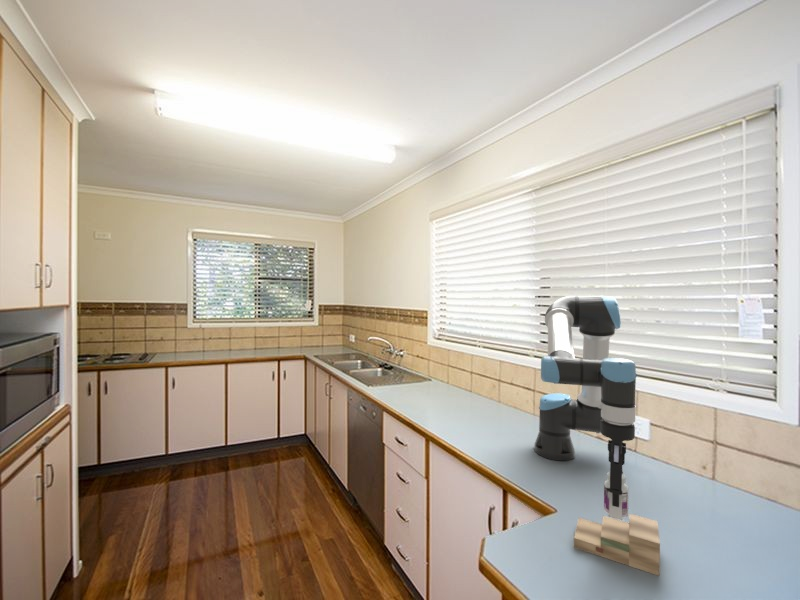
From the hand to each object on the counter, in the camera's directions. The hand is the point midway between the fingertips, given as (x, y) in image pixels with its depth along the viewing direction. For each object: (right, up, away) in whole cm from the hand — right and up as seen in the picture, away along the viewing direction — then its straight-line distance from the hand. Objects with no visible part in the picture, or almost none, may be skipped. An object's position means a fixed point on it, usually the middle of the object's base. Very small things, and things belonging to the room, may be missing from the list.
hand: (615, 510), depth 95 cm
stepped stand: (0, -10, 0) cm, 10 cm away
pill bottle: (0, -1, 0) cm, 0 cm away
